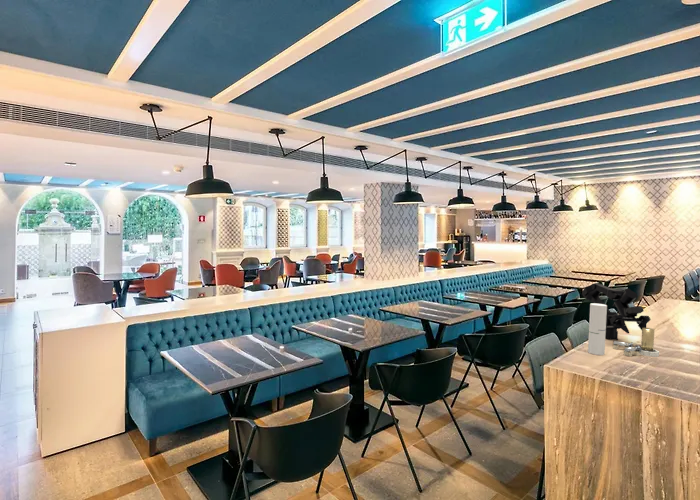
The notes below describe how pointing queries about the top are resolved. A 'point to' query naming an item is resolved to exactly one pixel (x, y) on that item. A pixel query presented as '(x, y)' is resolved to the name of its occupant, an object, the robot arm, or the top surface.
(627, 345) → the shaft
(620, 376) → the top surface
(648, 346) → the tan cylindrical piece
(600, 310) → the light grey tall block
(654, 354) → the socket ring
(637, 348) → the shaft
